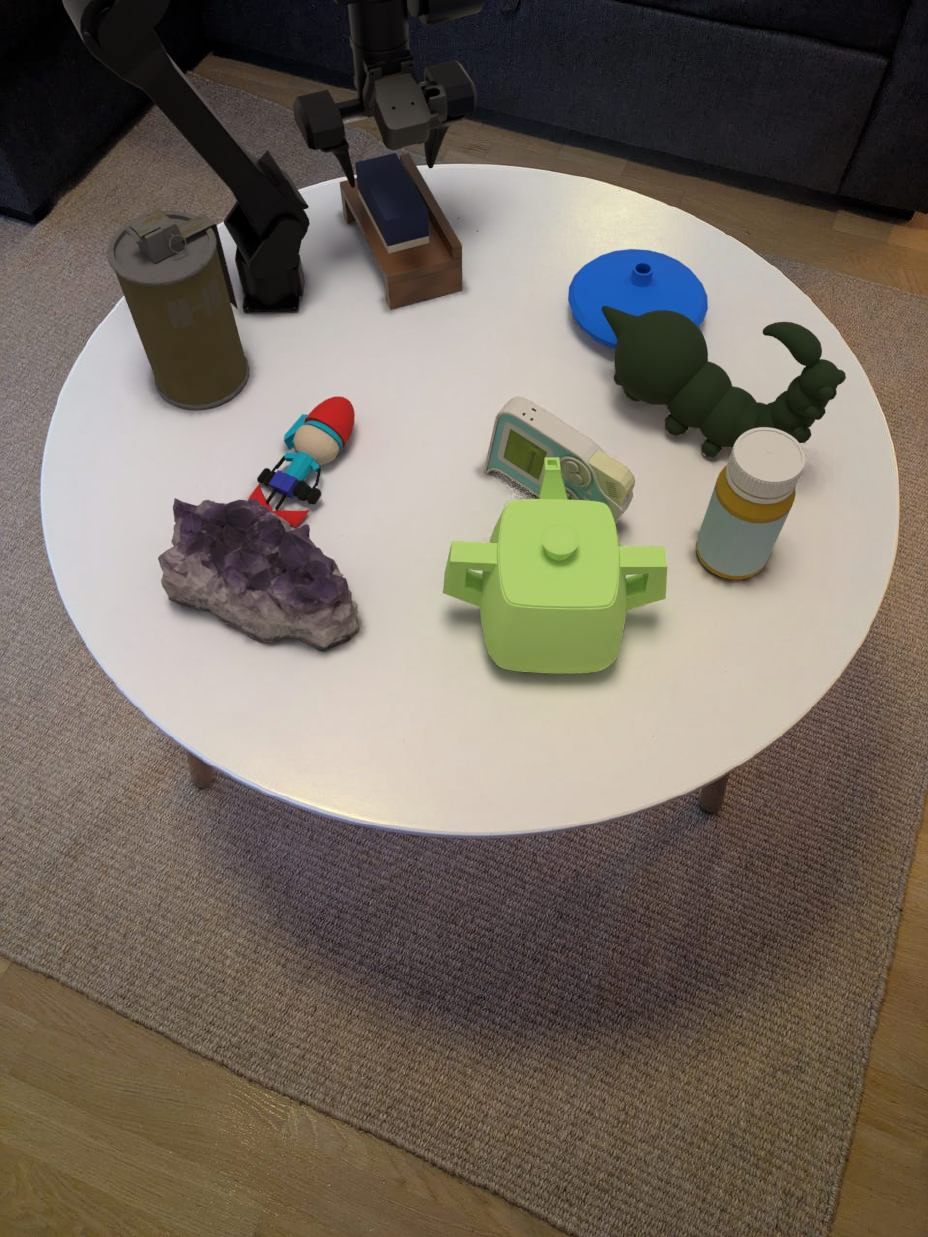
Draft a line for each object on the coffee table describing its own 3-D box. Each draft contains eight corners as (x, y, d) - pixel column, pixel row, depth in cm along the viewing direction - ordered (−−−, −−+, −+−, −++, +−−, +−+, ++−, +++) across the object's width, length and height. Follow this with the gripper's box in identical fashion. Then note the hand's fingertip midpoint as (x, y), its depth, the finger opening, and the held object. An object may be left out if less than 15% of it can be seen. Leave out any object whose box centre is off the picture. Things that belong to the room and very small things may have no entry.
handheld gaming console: (602, 552, 101) (481, 473, 104) (616, 533, 103) (496, 455, 105) (630, 491, 91) (496, 405, 94) (646, 471, 93) (513, 387, 95)
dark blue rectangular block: (429, 243, 115) (428, 209, 111) (388, 253, 114) (385, 220, 110) (398, 186, 120) (395, 152, 117) (358, 196, 120) (354, 162, 116)
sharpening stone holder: (390, 309, 116) (386, 265, 111) (343, 215, 125) (337, 169, 120) (462, 290, 118) (462, 245, 113) (411, 198, 127) (408, 152, 121)
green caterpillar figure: (802, 457, 107) (612, 337, 113) (879, 331, 90) (651, 198, 96) (757, 513, 103) (563, 386, 109) (828, 392, 87) (594, 250, 93)
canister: (187, 425, 108) (134, 274, 90) (137, 371, 112) (77, 217, 94) (271, 377, 111) (235, 223, 94) (219, 326, 115) (176, 170, 98)
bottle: (771, 535, 100) (816, 434, 87) (759, 591, 96) (803, 495, 84) (703, 516, 101) (737, 414, 88) (687, 571, 98) (720, 474, 85)
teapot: (449, 519, 101) (446, 432, 90) (648, 523, 101) (670, 437, 89) (441, 682, 92) (437, 607, 80) (660, 687, 91) (687, 613, 80)
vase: (709, 282, 119) (722, 232, 112) (694, 378, 111) (707, 329, 105) (578, 262, 120) (584, 211, 114) (554, 355, 113) (559, 306, 107)
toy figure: (307, 538, 102) (380, 424, 106) (292, 514, 97) (369, 396, 102) (248, 513, 104) (322, 402, 109) (230, 488, 100) (308, 373, 104)
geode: (391, 577, 98) (380, 529, 88) (336, 680, 94) (319, 641, 84) (211, 503, 101) (183, 449, 92) (151, 599, 97) (115, 553, 88)
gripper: (313, 101, 94) (333, 240, 107) (498, 58, 97) (495, 199, 110) (280, 39, 99) (303, 179, 112) (457, 0, 102) (459, 141, 116)
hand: (391, 175), depth 113 cm, fingers open, 9 cm apart
